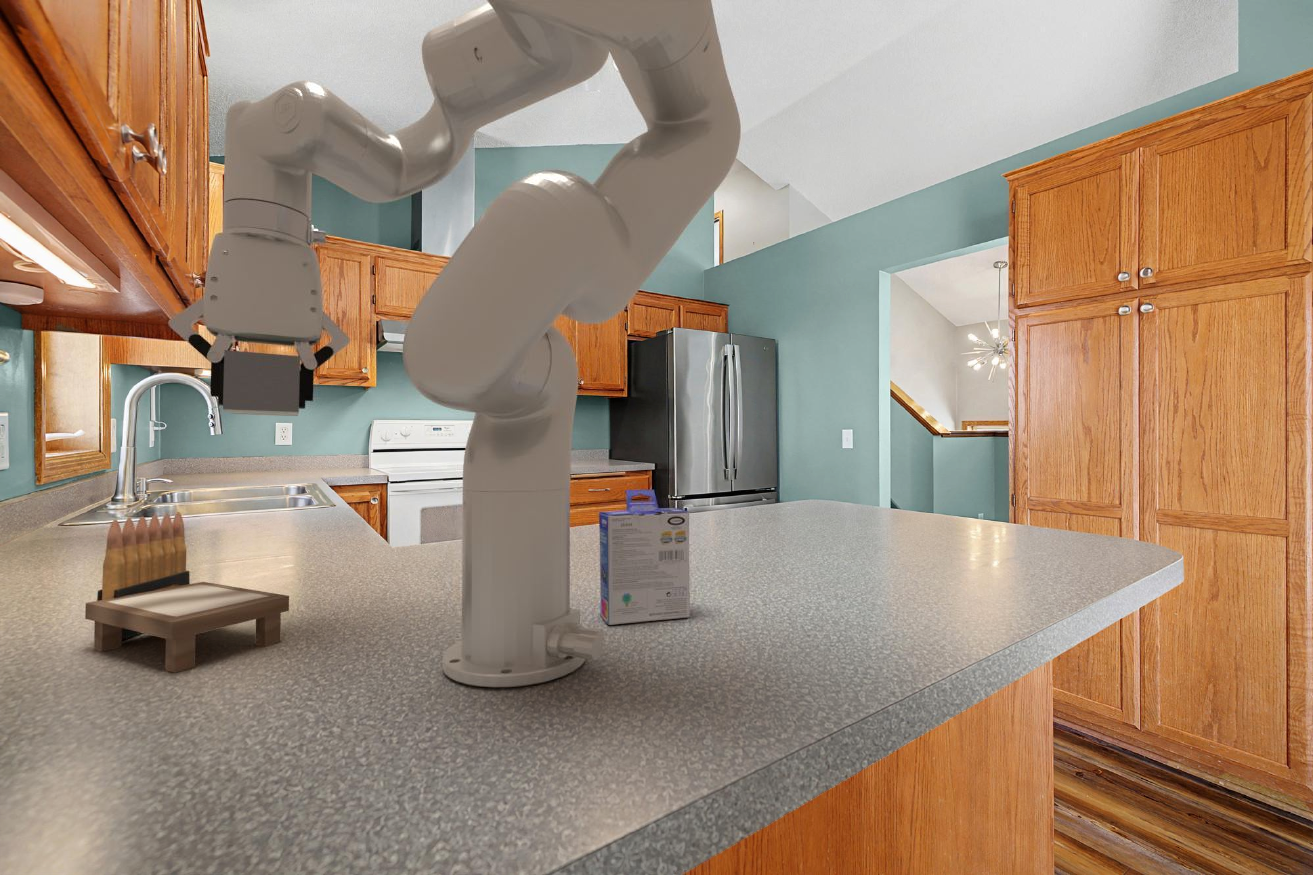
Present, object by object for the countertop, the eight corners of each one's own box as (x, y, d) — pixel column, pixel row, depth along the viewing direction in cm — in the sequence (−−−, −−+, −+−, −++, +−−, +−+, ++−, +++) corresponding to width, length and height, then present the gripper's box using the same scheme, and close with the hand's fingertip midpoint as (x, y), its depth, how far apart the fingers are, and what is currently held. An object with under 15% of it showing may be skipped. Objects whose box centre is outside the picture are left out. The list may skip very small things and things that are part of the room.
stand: (288, 640, 59) (289, 595, 59) (171, 675, 50) (172, 621, 50) (202, 622, 65) (203, 581, 65) (84, 650, 56) (85, 602, 56)
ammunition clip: (114, 642, 57) (117, 520, 58) (93, 643, 57) (97, 520, 58) (190, 614, 68) (192, 511, 69) (173, 614, 68) (175, 511, 68)
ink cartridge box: (676, 606, 72) (675, 488, 72) (692, 618, 66) (692, 491, 67) (597, 613, 68) (597, 489, 69) (608, 627, 63) (608, 493, 64)
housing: (297, 416, 66) (298, 367, 66) (298, 411, 57) (300, 356, 57) (231, 413, 63) (233, 362, 63) (223, 409, 54) (224, 350, 54)
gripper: (357, 257, 68) (354, 412, 68) (166, 225, 59) (161, 404, 58) (365, 238, 62) (361, 408, 61) (151, 199, 52) (146, 399, 52)
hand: (263, 404), depth 60 cm, fingers closed on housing, 6 cm apart
